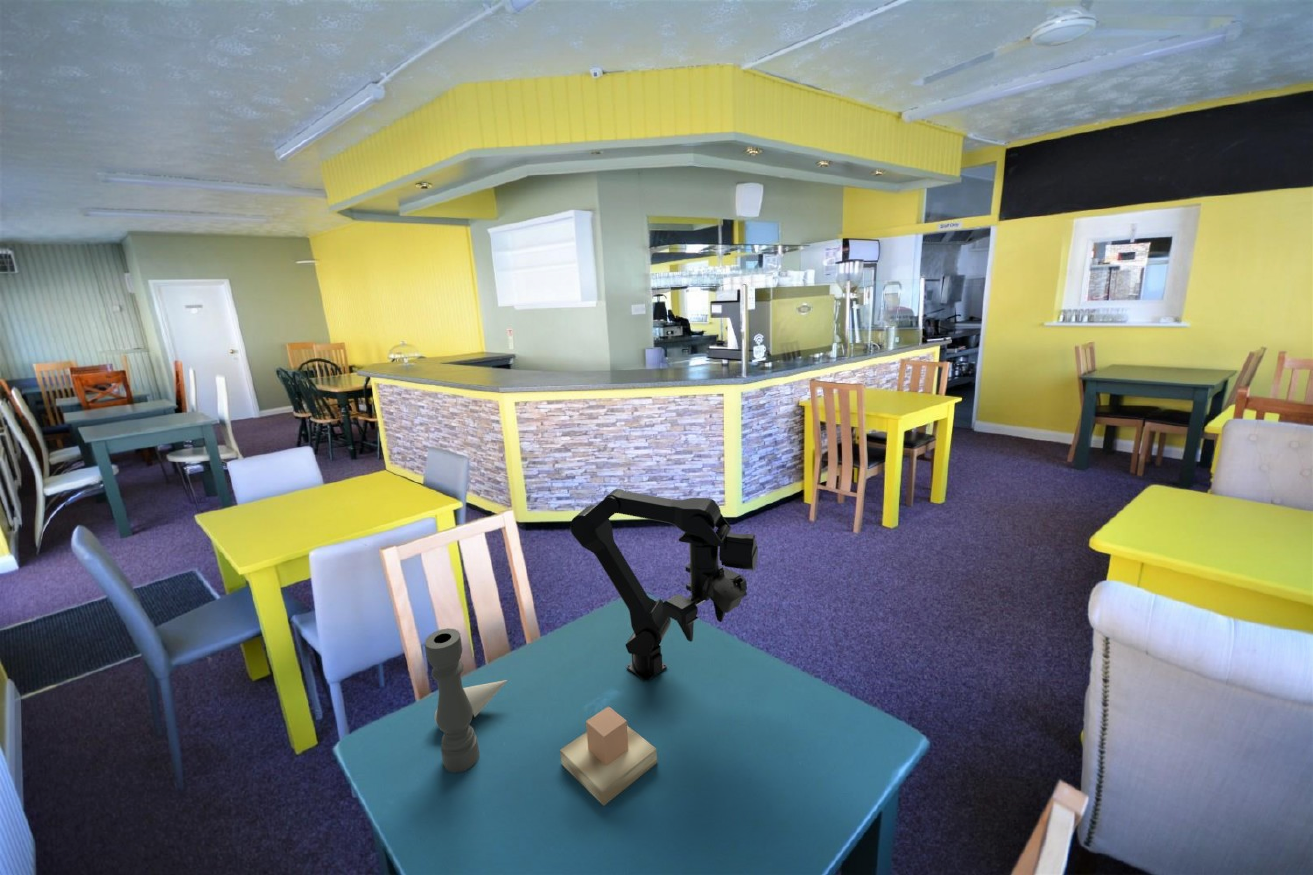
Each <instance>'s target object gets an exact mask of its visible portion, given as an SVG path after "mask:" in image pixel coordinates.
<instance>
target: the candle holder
mask: <svg viewBox="0 0 1313 875" xmlns="http://www.w3.org/2000/svg"><path fill="white" fill-rule="evenodd" d="M461 638H462V637H461V632H460V631H459V630H458V629H455V628H442V629H441V628H440V629H438V630H436V631H434V632H432V633H431V634H429V635H428V636H427V637H426V638H425V641H424V647H425V654H426V658H427V659H426V660H427V661H428V663H429V664H430V666H431V667H433V668H432V670H431V677H432V679H433V680H434V681H435V682H436V683H437V689H438V699H437V700H438V701H437V708H436V710H437V717H436V722H437V724H436V725H437V727H438V728H439V730H440V731H442V732H443V736H442V737H441V750H440V752H441V757H442V762H443V763H442V764H443V767H444V769H445V770H446V772H449V773H455V774H458V773H463V772H465V771H468V770H469V769H471V768H472V767H473V766H474V765H475V764H477V761H478V760H479V759H480V749H479V741H478V737H477V735H476V733H475V732H476V731H475V730H474V728H473V726H472V725H470V724H471V722H472V719H473V717H474V716H473V708H472V706H471V704H470V702H469V700H468V698H467V696H466V693H465V691H464V689H463V688H464V686H463V682H462V676H461V674H462V673H463V671H464V663H463V662H462V661H461V660H460V659H461V657H462V654H463V646H462V639H461ZM436 722H435V723H436Z"/></svg>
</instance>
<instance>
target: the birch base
mask: <svg viewBox="0 0 1313 875" xmlns="http://www.w3.org/2000/svg"><path fill="white" fill-rule="evenodd" d="M627 733H628V750H627V751H626V752H624V753H623V754H622V755H620V756H619V757H618V758H616V759H615V760H614V761H612V762H611V763H610V764H608V765H607V766H606V765H604V764H603V763H602V762H601V761H600V760H599V759H598V758H597V757H596V756H595V755H594V754H592V753H591V752H590V751H589V750H588V740H587V731H586V732H585V733H583V734H582V735H579V736H578V737H577V738H575V739H574V740H572V741H571V742H569V743H568V744H567V745H565V746H564V747H562V748H561V749H560V750H559V752H560V754H559V755H560V763H561V765H562V766H563V767H564V768H565V769H566V770H567V771H568V772H569V773H570V774H571V775H572V776H573V777H574V778H575V779H576V780H577V781H578V782H579V783H580V784H581V786H583V787H584V788H585V789H586V790H587V791H588V792H589V793H590V794H591V795H592V796H593V797H594V798H595V799H596V800H597V801H598V802H599V803H600V804H601V805H602V806H604V807H605V806H606V805H607V804H608V803H610V802H611V800H613V799H614V798H616V797H617V796H618V795H619V794H621V793H622V792H623V791H624V790H625V789H627V788H628V787H629V786H631V785H632V784H633V783H634V782H635V781H637V780H638V779H639V778H640V777H641V776H643V775H644V774H645V773H647V772H648V771H649V770H650V769H651V768H653V767H654V766H655V765H656V764H658V755H657V754H658V753H657V752H658V751H657V748H656V747H655V746H653V745H652V744H651V743H650V742H649V741H647V740H646V738H643V736H641V735H640V734H639V733H637V732H636V731H635V730H634V729H632V728H631V727H629V726H628V725H627Z"/></svg>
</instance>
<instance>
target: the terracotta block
mask: <svg viewBox="0 0 1313 875" xmlns="http://www.w3.org/2000/svg"><path fill="white" fill-rule="evenodd" d="M585 726H586V727H585V728H586V732H587V740H588V750H589V751H590V752H591V753H592V754H594V755H595V756H596V757H597V758H598V759H599V760H600V761H601V762H602V763H603V764H604V765H606V766H607V765H608V764H610V763H611V762H612V761H614V760H615V759H616V758H618V757H619V756H620V755H622V754H623V753H624V752H626V751H627V750H628V733H627V726H628V723H627V720H626V719H625V718H624V717H623V716H621V715H620V714H618V712H616V711H615V710H614V709H613V708H611V707H610V706H607V707H605V708H603V709H602V710H601V711H599V712H598V713H596V714H595V715H593V716H592V717H590V718H589V719H587V720H586V721H585Z"/></svg>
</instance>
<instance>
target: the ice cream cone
mask: <svg viewBox="0 0 1313 875" xmlns="http://www.w3.org/2000/svg"><path fill="white" fill-rule="evenodd" d="M508 681H509V679H506V680H499V681H494V682H489V683H484V684H476V685H471V686H467V687H463V689H464V691H465V693H466V696H467V698H468V700H469V702H470V704H471V706H472V708H473V716H472V717H473V718H476V717H477V716H478V715H479V713H480V712H481V711H482V710H483V709H484V708H485V707H486V706H487V704H488V703H489V702H490V701H491V700H492V699H493V698H494V697H495V695H496V694H498V692H499V691H500V690H501V689H502V688H503V687H504V685H505V684H506V683H508ZM436 717H437V709H436V710H435V712H434V721H435V724H436V725H437V722H436Z"/></svg>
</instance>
